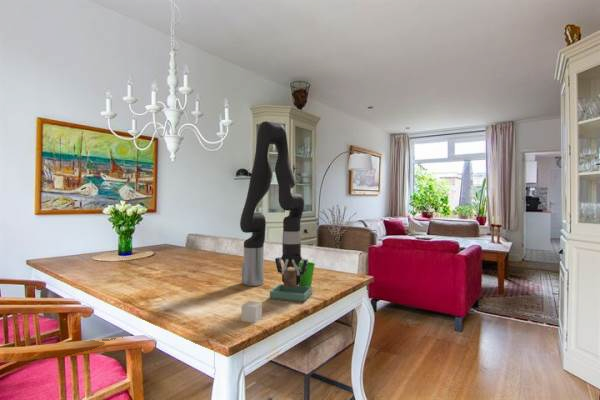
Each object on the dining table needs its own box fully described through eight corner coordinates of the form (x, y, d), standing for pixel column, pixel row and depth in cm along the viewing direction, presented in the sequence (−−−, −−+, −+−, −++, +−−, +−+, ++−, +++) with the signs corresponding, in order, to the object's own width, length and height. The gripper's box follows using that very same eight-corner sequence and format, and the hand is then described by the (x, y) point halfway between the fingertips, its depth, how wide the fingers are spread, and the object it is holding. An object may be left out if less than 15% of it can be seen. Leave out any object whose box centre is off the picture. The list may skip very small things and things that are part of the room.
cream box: (241, 320, 105) (241, 305, 105) (248, 315, 110) (248, 301, 110) (255, 322, 104) (255, 307, 104) (261, 317, 109) (261, 302, 109)
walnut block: (283, 286, 130) (283, 271, 130) (287, 283, 134) (287, 269, 134) (295, 287, 128) (295, 272, 128) (299, 284, 133) (299, 269, 133)
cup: (297, 292, 138) (297, 266, 138) (292, 286, 147) (292, 262, 146) (317, 290, 140) (317, 265, 140) (311, 285, 149) (311, 261, 149)
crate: (269, 298, 128) (269, 291, 128) (279, 291, 139) (279, 284, 139) (304, 302, 124) (304, 294, 124) (312, 294, 135) (312, 286, 135)
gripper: (271, 242, 130) (271, 284, 130) (306, 244, 126) (305, 287, 126) (278, 240, 137) (278, 280, 137) (311, 241, 133) (310, 282, 133)
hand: (291, 283), depth 131 cm, fingers closed on walnut block, 5 cm apart
